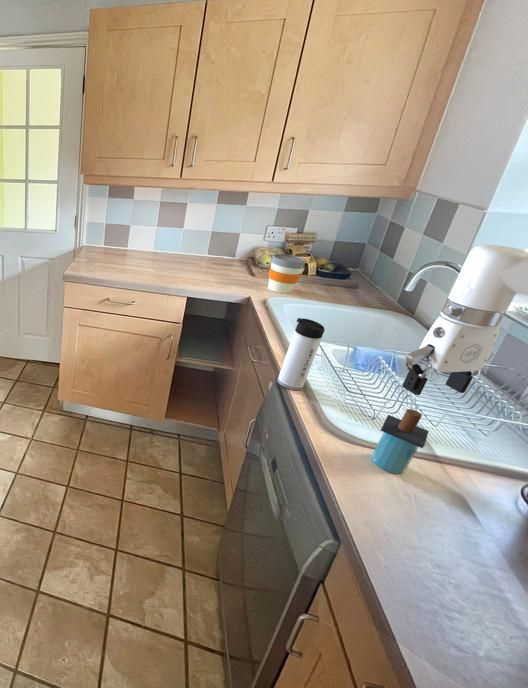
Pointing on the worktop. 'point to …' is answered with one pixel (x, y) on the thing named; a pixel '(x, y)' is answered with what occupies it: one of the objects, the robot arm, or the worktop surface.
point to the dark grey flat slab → (406, 428)
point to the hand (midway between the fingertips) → (432, 390)
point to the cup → (393, 454)
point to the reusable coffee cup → (284, 272)
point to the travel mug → (300, 354)
